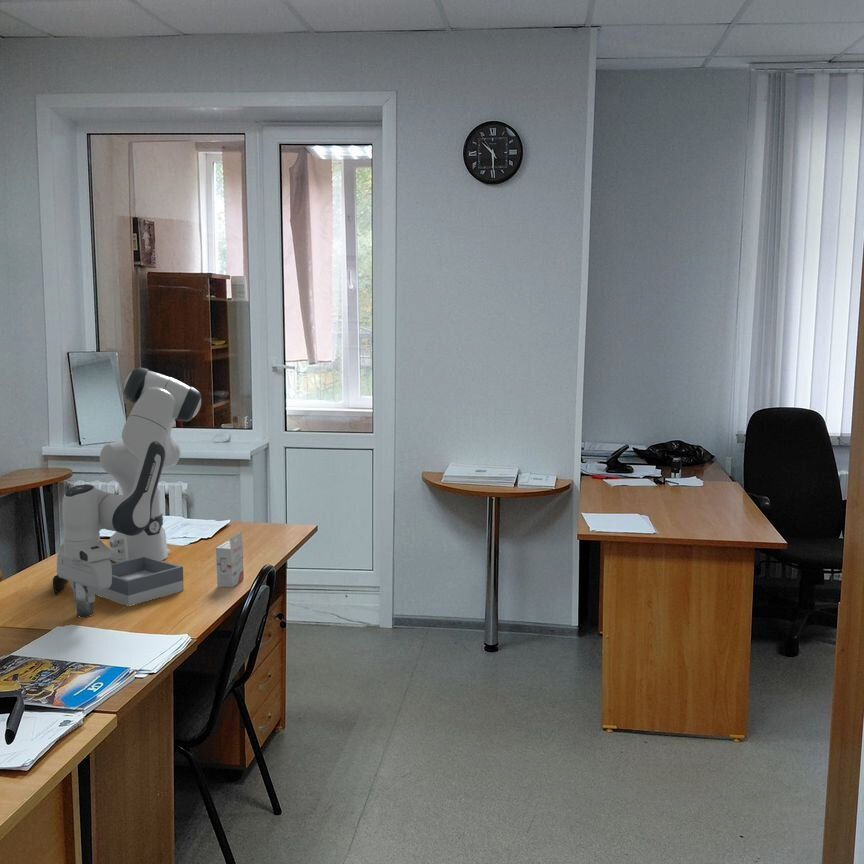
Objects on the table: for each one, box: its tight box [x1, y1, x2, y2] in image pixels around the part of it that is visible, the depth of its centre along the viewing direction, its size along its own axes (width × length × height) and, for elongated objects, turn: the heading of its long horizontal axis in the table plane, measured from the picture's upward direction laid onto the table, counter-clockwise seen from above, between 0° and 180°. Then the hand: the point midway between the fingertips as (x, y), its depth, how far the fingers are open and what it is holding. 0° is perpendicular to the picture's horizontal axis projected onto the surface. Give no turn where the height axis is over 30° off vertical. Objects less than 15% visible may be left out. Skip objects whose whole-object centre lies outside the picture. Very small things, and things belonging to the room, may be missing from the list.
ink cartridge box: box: [215, 531, 244, 588], centre depth 264 cm, size 9×5×15 cm, turn 168°
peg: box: [75, 582, 94, 618], centre depth 236 cm, size 4×4×9 cm
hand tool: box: [52, 573, 69, 596], centre depth 261 cm, size 19×4×5 cm, turn 10°
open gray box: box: [95, 556, 185, 607], centre depth 255 cm, size 18×18×7 cm
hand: (84, 599), depth 236 cm, fingers closed on peg, 4 cm apart
